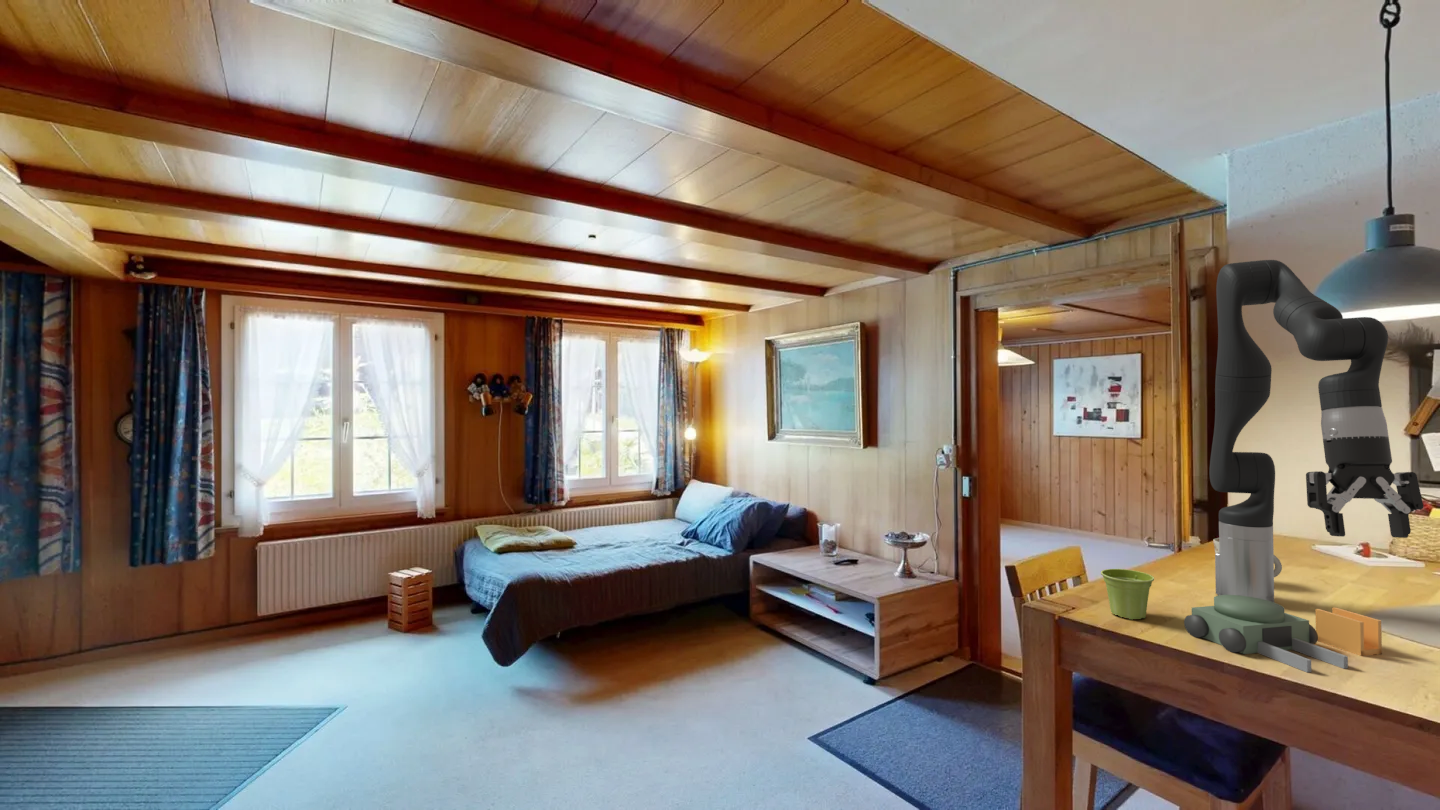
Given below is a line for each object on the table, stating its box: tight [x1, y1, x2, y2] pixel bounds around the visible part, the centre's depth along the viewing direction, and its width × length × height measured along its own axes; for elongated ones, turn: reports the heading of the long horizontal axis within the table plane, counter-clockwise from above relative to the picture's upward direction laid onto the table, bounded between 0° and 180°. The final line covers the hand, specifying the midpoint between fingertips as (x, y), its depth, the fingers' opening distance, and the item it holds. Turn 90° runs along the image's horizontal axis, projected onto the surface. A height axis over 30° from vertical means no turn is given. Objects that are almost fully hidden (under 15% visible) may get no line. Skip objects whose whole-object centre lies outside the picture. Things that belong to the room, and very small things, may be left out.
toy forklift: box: [1183, 594, 1349, 673], centre depth 110 cm, size 18×16×7 cm
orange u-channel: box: [1314, 606, 1383, 657], centre depth 110 cm, size 7×4×6 cm, turn 9°
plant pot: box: [1100, 568, 1155, 620], centre depth 128 cm, size 9×9×9 cm
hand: (1368, 536), depth 97 cm, fingers open, 8 cm apart
